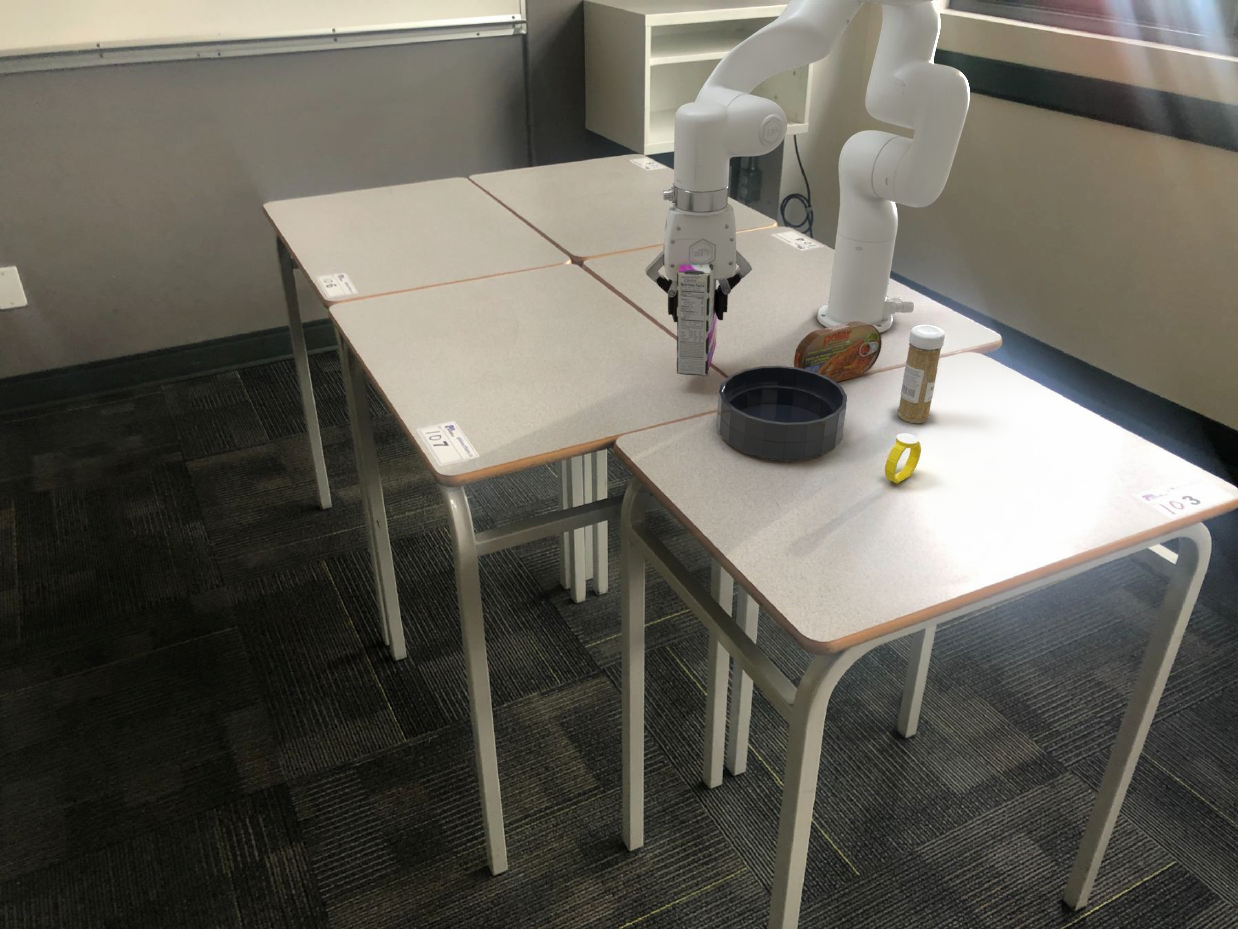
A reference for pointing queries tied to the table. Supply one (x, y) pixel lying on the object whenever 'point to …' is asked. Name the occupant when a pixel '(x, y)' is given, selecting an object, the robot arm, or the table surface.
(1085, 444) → the table surface
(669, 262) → the robot arm
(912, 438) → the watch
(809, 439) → the bowl
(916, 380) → the spice jar
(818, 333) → the tin
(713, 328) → the candy bar box
